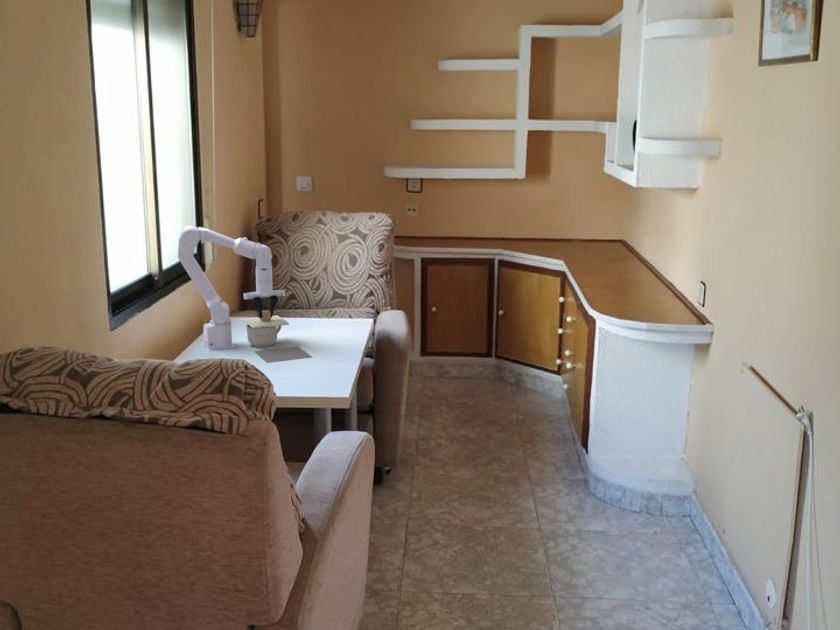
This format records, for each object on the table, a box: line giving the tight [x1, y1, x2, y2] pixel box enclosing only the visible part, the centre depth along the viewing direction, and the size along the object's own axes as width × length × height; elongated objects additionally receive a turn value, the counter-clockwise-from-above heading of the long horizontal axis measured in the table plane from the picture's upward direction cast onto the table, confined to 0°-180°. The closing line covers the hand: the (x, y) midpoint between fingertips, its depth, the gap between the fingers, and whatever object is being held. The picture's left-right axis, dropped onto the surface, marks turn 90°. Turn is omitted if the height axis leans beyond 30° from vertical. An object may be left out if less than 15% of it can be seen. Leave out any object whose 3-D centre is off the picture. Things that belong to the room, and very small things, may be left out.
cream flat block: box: [242, 309, 290, 328], centre depth 300 cm, size 13×13×4 cm
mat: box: [253, 345, 313, 364], centre depth 289 cm, size 16×16×1 cm
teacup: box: [245, 324, 282, 348], centre depth 301 cm, size 14×11×8 cm
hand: (265, 317), depth 300 cm, fingers open, 3 cm apart
